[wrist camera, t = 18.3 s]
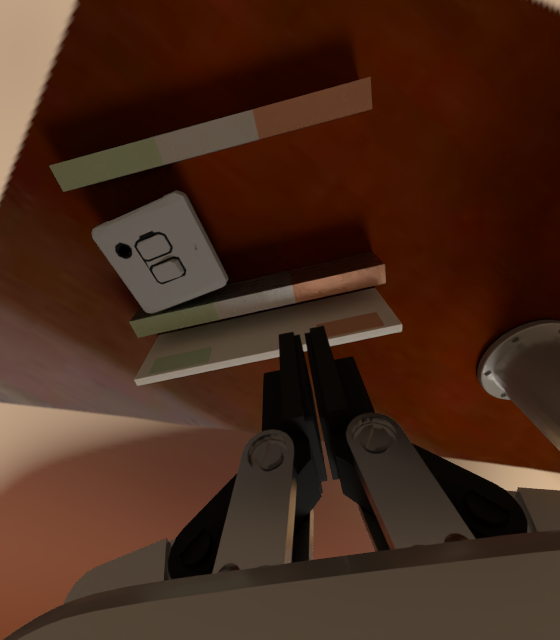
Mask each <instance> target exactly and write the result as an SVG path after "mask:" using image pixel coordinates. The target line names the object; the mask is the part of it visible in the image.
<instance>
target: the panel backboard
mask: <svg viewBox="0 0 560 640" xmlns="http://www.w3.org/2000/svg"><path fill="white" fill-rule="evenodd" d="M319 326H324V328H325V331H326V334H327V338H328V341H329V345H330V346H333V345H338V344H343V343H348V342H353V341H358V340H362V339H367V338H372V337H377V336H382V335H387V334H392V333H396V332H401V331H402V324H401V322H400V321H399V320H398V318H397V317H396V316H395V314H394V313H393V311H392V310H391V309H390V307H389V306H388V305H387V303H386V302H385V301H384V299H383V298H382V297H381V295H380V294H379V293H378V291H377V290H376V289H375V288H371V289H367V290H362V291H358V292H353V293H348V294H344V295H339V296H335V297H330V298H326V299H321V300H317V301H312V302H307V303H303V304H298V305H294V306H289V307H285V308H280V309H275V310H271V311H266V312H262V313H257V314H253V315H248V316H244V317H239V318H234V319H230V320H225V321H221V322H216V323H212V324H207V325H202V326H198V327H193V328H189V329H184V330H180V331H175V332H171V333H166V334H161V335H159V336H158V338H157V340H156V341H155V343H154V345H153V347H152V349H151V350H150V352H149V354H148V356H147V357H146V359H145V361H144V363H143V364H142V366H141V368H140V370H139V372H138V373H137V375H136V377H135V379H134V381H135V382H136V384H137V386H139V385H144V384H149V383H153V382H158V381H163V380H168V379H173V378H178V377H183V376H187V375H192V374H197V373H202V372H207V371H212V370H217V369H222V368H226V367H231V366H236V365H241V364H246V363H251V362H256V361H260V360H265V359H270V358H275V357H280V356H279V334H284V333H289V332H294V335H299V334H300V338H301V342H302V347H303V351H307V346H306V340H305V335H304V333H309V332H310V330H309V328H314V327H319Z"/></svg>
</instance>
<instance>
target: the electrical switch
mask: <svg viewBox="0 0 560 640" xmlns="http://www.w3.org/2000/svg"><path fill="white" fill-rule="evenodd" d="M91 234H92V238H93V239H94V241H95V242H96V243H97V245H98V246H99V248H100V249H101V251H102V252H103V253H104V255H105V256H106V258H107V259H108V260H109V262H110V263H111V265H112V266H113V267H114V269H115V270H116V272H117V273H118V275H119V276H120V277H121V279H122V280H123V282H124V283H125V284H126V286H127V287H128V289H129V290H130V291H131V293H132V294H133V296H134V297H135V298H136V300H137V301H138V303H139V304H140V306H141V307H142V308H143V310H144V311H145V312H147V313H151V314H153V313H156V312H159V311H161V310H164V309H167V308H169V307H172V306H175V305H177V304H180V303H182V302H185V301H188V300H190V299H193V298H195V297H198V296H201V295H203V294H206V293H209V292H211V291H214V290H216V289H219V288H222V287H224V286H225V285H226V283H227V281H228V276H227V274H226V272H225V270H224V268H223V265H222V263H221V261H220V259H219V257H218V255H217V253H216V251H215V249H214V247H213V245H212V243H211V241H210V239H209V237H208V235H207V233H206V231H205V230H204V228H203V226H202V224H201V222H200V220H199V218H198V216H197V214H196V212H195V210H194V208H193V206H192V204H191V202H190V200H189V198H188V197H187V196H186V194H185V193H183V192H181V191H177V190H176V191H174V192H172V193H169V194H167V195H165V196H163V198H161V199H158V200H156V201H154V202H152V203H149V204H147V205H145V206H143V207H140V208H138V209H136V210H134V211H132V212H129V213H127V214H125V215H123V216H120V217H118V218H116V219H114V220H111V221H107V222H105V223H103V224H100V225H98V226H97V227H95V228H94V229H93V231H92V233H91Z"/></svg>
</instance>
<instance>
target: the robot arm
mask: <svg viewBox="0 0 560 640" xmlns="http://www.w3.org/2000/svg"><path fill="white" fill-rule="evenodd" d="M309 330H310V332H309V333H304V335H305V340H306V346H307V352H308V357H309V363H310V368H311V374H312V380H313V385H314V391H315V397H316V402H317V408H318V413H319V418H320V423H321V427H322V432H323V436H324V441H325V445H326V450H327V455H328V459H329V464H330V469H331V473H332V478H333V480H335V479H340V482H341V487H342V490H343V494H345V495H346V496H347V497H349V498H350V499H352V500H353V501H354V502H356V503H357V505H358V509H359V512H360V515H361V517H362V520H363V522H364V525H365V527H366V530H367V532H368V535H369V537H370V540H371V543H372V545H373V548H374V550H375V552H370V553H363V554H355V555H347V556H340V557H332V558H325V559H317V560H313V522H314V520H313V519H314V514H313V508H314V506H315V505H316V503H317V502H318V501H319V499H320V498H321V493H322V485H321V482H323V481H327V475H326V469H325V463H324V457H323V451H322V446H321V439H320V434H319V428H318V422H317V416H316V410H315V404H314V398H313V393H312V388H311V383H310V379H309V374H308V370H307V365H306V361H305V356H304V351H303V347H302V342H301V338H300V334H299V335H294V332H289V333H284V334H279V356H280V370H278V371H273V372H267V373H264V382H263V415H262V432H260V433H258V434H256V435H255V436H254V437H252V438H251V439H250V440H249V442H248V443H247V444H246V446H245V448H244V450H243V453H242V457H241V461H240V465H239V469H238V473H237V474H236V475H235V476H234V477H233V478H232V479H231V480H230V481H229V482H228V483H227V484H226V486H224V487H223V488H222V490H220V492H219V493H218V494H217V495H216V496H215V497H214V498H213V499H212V500H211V501H210V502H209V503H208V504H207V505H206V506H205V507H204V508H203V509H202V510H201V511H200V512H199V513H198V514H197V515H196V516H195V517H194V518H193V519H192V520H191V521H190V523H188V525H187V526H186V527H185V528H184V529H183V530H182V531H181V532H180V534H179V535H178V536H177V537H176V539H174V540H171V541H168V540H167V538H166V539H163V540H161V541H158V542H156V543H153V544H151V545H149V546H146V547H144V548H141V549H139V550H136V551H134V552H132V553H129V554H127V555H124V556H122V557H119V558H117V559H115V560H112V561H109V562H107V563H104V564H102V565H100V566H97V567H95V568H93V569H92V570H90V571H88V572H87V573H85V574H84V576H82V577H81V578H80V579H79V580H78V581H77V582H76V584H75V585H74V586H73V588H72V589H71V591H70V592H69V594H68V595H67V598H66V600H65V602H64V604H63V605H61V606H58V607H56V608H54V609H52V610H50V611H48V612H46V613H45V614H43V615H41V616H39V617H37V618H35V619H33V620H32V621H30V622H29V623H27V624H26V625H24V626H22V627H21V628H19V629H17V630H16V631H14V632H13V633H12V634H10V635H9V636H7V637H6V638H5V639H3V640H560V491H558V490H545V489H532V488H519V487H518V489H517V492H515V491H506V490H504V489H503V488H501V487H499V486H498V485H496V484H494V483H492V482H490V481H488V480H486V479H484V478H482V477H480V476H478V475H476V474H474V473H472V472H470V471H468V470H466V469H464V468H461V467H460V466H458V465H455V464H453V463H451V462H449V461H447V460H445V459H443V458H441V457H439V456H437V455H435V454H433V453H431V452H429V451H427V450H425V449H423V448H421V447H418V446H416V445H414V444H412V443H411V442H410V440H409V439H408V437H407V436H406V434H405V433H404V431H403V430H402V428H401V427H400V426H399V424H398V423H397V422H396V421H395V420H393V419H392V418H390V417H389V416H386V415H383V414H380V413H375V411H374V409H373V406H372V404H371V401H370V398H369V396H368V393H367V391H366V388H365V386H364V383H363V381H362V378H361V375H360V373H359V370H358V368H357V365H356V363H355V360H354V358H353V357H347V358H342V359H337V360H334V358H333V355H332V351H331V348H330V345H329V341H328V338H327V334H326V331H325V328H324V326H319V327H314V328H309ZM477 376H478V380H479V383H480V384H481V386H482V387H483V388H484V389H485V390H486V391H487V392H488V393H489V394H490V395H492V396H494V397H497V398H500V399H509V400H512V401H513V402H514V403H515V405H516V406H517V407H518V408H519V409H520V410H521V411H522V412H523V413H524V414H525V415H526V416H527V417H528V418H529V419H530V420H531V421H532V422H533V423H534V425H535V426H536V427H537V428H538V429H539V430H540V431H541V432H542V433H543V434H544V435H545V436H546V437H547V438H548V439H549V440H550V441H551V442H552V443H553V445H554V446H555V447H556V448H557V449H558V450H559V451H560V321H557V320H539V321H534V322H529V323H526V324H524V325H521V326H518V327H516V328H514V329H512V330H510V331H509V332H507V333H505V334H504V335H502V336H501V337H500V338H498V339H497V340H496V341H495V342H494V343H493V344H492V345H491V346H490V347H489V348H488V349H487V350H486V352H485V353H484V355H483V356H482V358H481V360H480V363H479V365H478V370H477Z"/></svg>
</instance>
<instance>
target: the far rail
mask: <svg viewBox="0 0 560 640" xmlns="http://www.w3.org/2000/svg"><path fill="white" fill-rule="evenodd" d="M384 283H386V279H385V264H384V263H383V262H382V261H381V260H380V259H379V258H378V257H377V256H376V255H375V254H374V253H373V252H372V251H371V252H367V253H362V254H358V255H354V256H349V257H345V258H341V259H336V260H332V261H327V262H323V263H319V264H314V265H310V266H306V267H301V268H297V269H293V270H288V271H284V272H279V273H275V274H271V275H266V276H262V277H258V278H253V279H249V280H245V281H240V282H236V283H232V284H227V285H225V286H224V287H222V288H219V289H216V290H214V291H211V292H209V293H206V294H203V295H201V296H198V297H195V298H193V299H190V300H188V301H185V302H182V303H180V304H177V305H175V306H172V307H169V308H167V309H164V310H161V311H159V312H156V313H153V314H151V313H147V312H145V311H144V310H143V308H142V307H140V308H139V310H138V311H137V312H136V313H135V315H134V316H133V317H132V319H131V320H130V321H129V323H130V324H131V326H132V328H133V330H134V332H135V333H136V335H137V337H138V338H139V337H143V336H148V335H152V334H157V333H161V332H166V331H170V330H175V329H180V328H184V327H189V326H193V325H198V324H202V323H207V322H211V321H216V320H221V319H225V318H230V317H234V316H239V315H243V314H248V313H252V312H257V311H261V310H266V309H271V308H275V307H280V306H284V305H289V304H293V303H298V302H302V301H307V300H312V299H316V298H321V297H325V296H330V295H334V294H339V293H343V292H348V291H352V290H357V289H362V288H366V287H371V286H375V285H380V284H384Z"/></svg>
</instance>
